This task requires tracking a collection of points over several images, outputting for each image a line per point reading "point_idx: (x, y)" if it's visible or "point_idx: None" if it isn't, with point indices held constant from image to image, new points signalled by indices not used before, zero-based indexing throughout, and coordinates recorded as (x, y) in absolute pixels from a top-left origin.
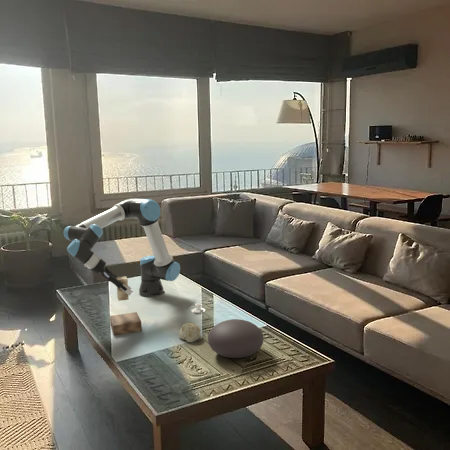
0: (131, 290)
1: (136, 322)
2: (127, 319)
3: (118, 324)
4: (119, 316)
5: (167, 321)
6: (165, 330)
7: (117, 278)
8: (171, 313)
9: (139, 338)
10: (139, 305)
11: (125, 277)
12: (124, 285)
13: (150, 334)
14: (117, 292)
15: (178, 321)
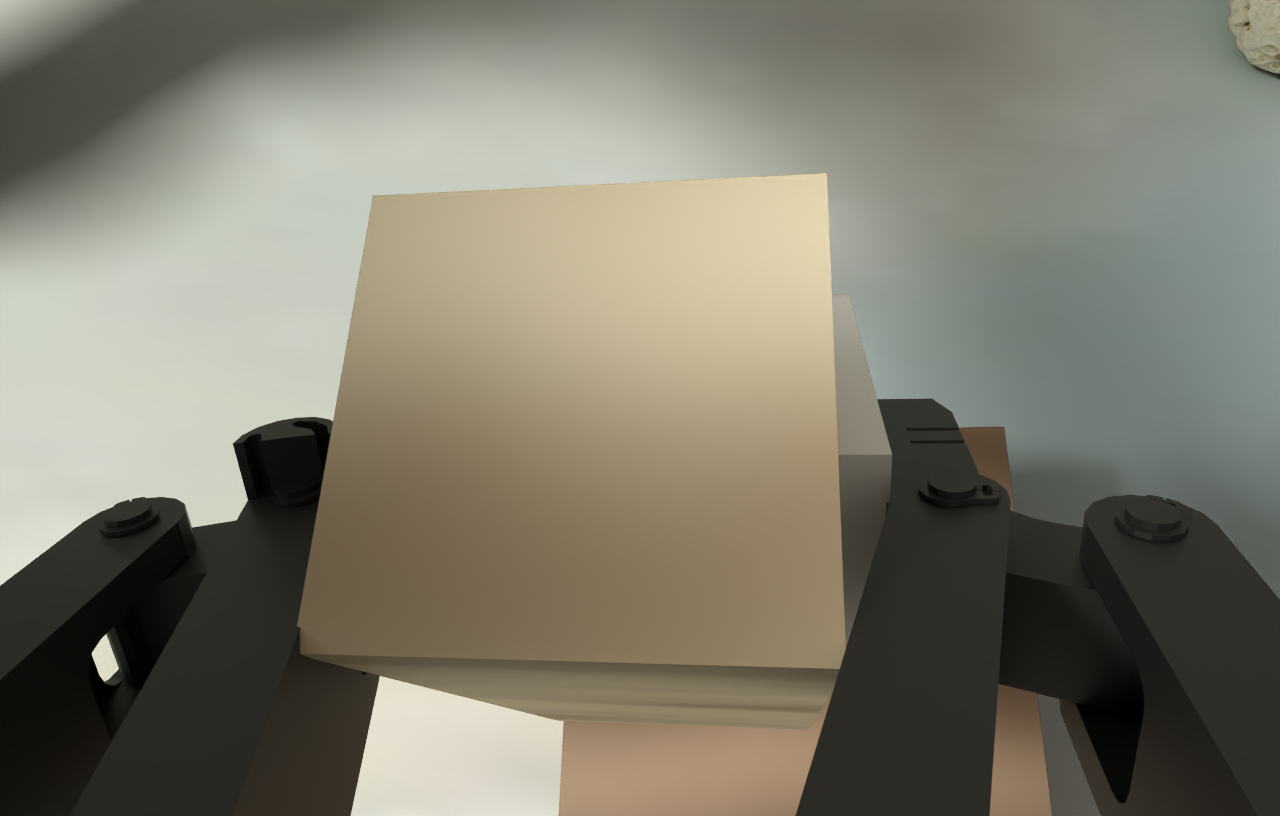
0: (847, 309)
1: (1012, 500)
2: None
3: (1028, 805)
4: (652, 725)
5: (768, 153)
6: (1046, 209)
7: (569, 628)
8: (544, 85)
9: (1239, 542)
10: (97, 374)
11: (562, 238)
12: (882, 433)
13: (1130, 388)
14: (603, 712)
15: (815, 52)
